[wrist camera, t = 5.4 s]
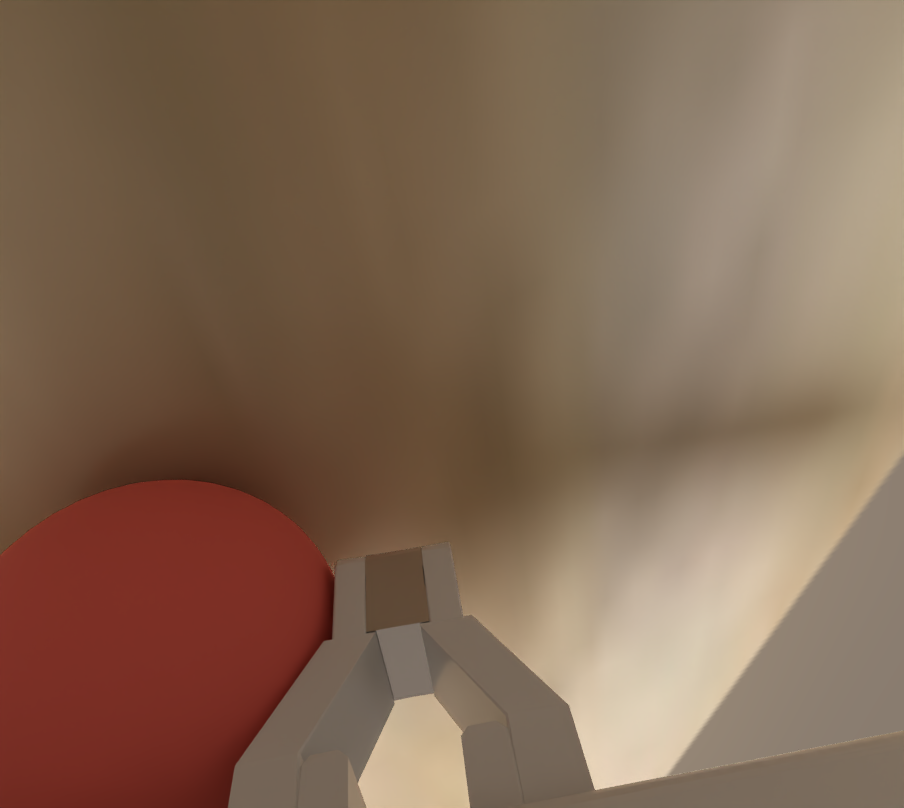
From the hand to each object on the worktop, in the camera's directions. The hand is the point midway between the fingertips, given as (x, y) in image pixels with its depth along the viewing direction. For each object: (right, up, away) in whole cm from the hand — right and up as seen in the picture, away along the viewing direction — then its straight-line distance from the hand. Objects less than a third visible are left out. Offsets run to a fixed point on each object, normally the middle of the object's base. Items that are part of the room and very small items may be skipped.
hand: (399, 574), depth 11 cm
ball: (-4, -1, -1) cm, 4 cm away
